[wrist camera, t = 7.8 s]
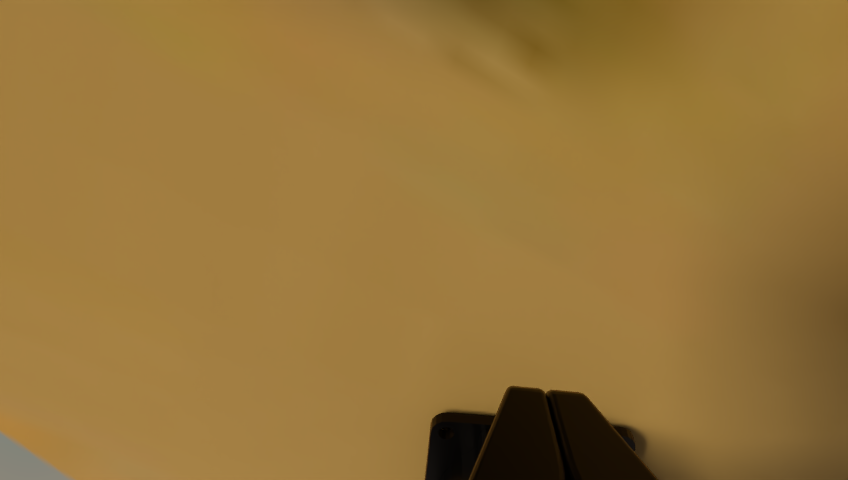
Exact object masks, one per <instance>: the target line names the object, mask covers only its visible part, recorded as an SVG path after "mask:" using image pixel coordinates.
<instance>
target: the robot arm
mask: <svg viewBox="0 0 848 480" xmlns="http://www.w3.org/2000/svg"><path fill="white" fill-rule="evenodd" d="M445 427H448V428H451V430H442V428H445ZM425 480H658V479H657V478H656V476H655V475H654V474H653V473H652V472H651V471H650V470H649V468H648V467H647V466H646V465H645V464H644V463H643V461H642V460H641V459H640V458H639V457H638V456H637V454H636V453H635V442H634V438H633V435H632V433H631V431H629V430H628V429H626V428H622V427H614V426H612V425H611V424H610V423H609V422H608V421H607V419H606V418H605V417H604V416H603V415H602V414H601V412H600V411H599V410H598V409H597V408H596V407H595V405H594V404H593V403H592V402H591V401H590V400H589V398H588V397H587V396H585V395H584V394H582V393H579V392H569V391H559V390H550V391H548V392H547V393H546V394H545V392H544V391H543V390H541V389H539V388H529V387H519V386H510V387H509V388H508V389H507V390H506V392H505V394H504V396H503V399H502V401H501V404H500V406H499V408H498V411H497V413H496V416H495V417H494V416H482V415H470V414H458V413H441V414H438V415H436V416H435V417H434V418H433V419H432V422H431V427H430V436H429V446H428V455H427V464H426V474H425Z"/></svg>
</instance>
